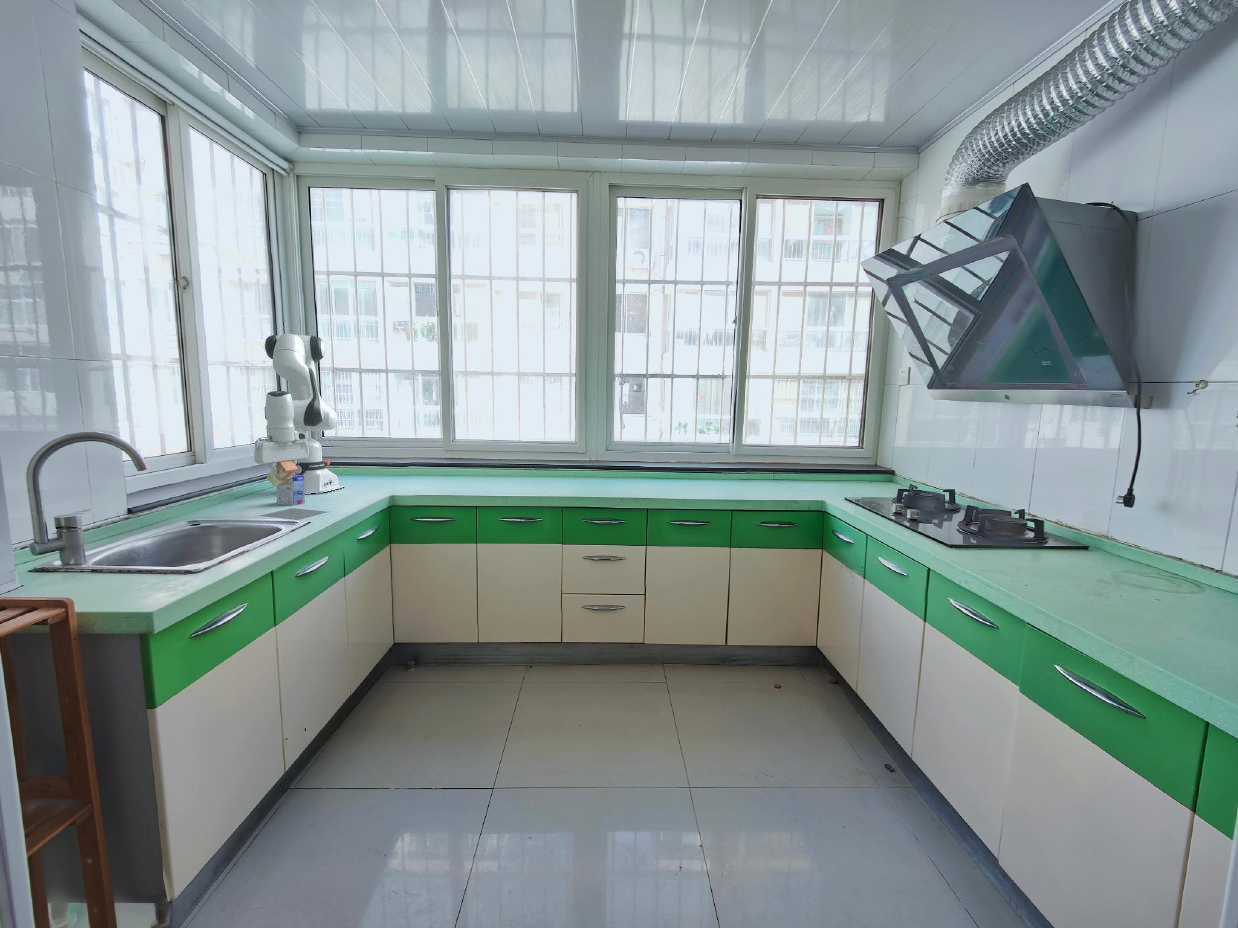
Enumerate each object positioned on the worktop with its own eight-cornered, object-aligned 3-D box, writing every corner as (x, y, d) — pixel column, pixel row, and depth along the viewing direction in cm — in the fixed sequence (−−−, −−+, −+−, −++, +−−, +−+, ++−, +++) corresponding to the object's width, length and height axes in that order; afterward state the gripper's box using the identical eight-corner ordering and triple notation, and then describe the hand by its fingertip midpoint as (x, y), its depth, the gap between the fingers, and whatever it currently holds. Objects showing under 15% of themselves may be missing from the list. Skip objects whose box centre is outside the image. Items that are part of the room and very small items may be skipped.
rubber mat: (292, 509, 210) (291, 508, 210) (329, 513, 205) (329, 511, 205) (259, 516, 197) (259, 515, 197) (298, 521, 192) (298, 519, 192)
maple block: (277, 474, 202) (290, 458, 199) (285, 484, 201) (298, 468, 199) (265, 476, 197) (278, 460, 194) (273, 486, 197) (286, 470, 194)
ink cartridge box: (306, 504, 220) (304, 469, 218) (293, 506, 215) (291, 471, 213) (288, 502, 223) (286, 467, 221) (276, 504, 218) (273, 469, 216)
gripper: (262, 438, 185) (264, 477, 187) (310, 434, 205) (312, 470, 206) (248, 437, 187) (250, 476, 189) (297, 433, 206) (299, 469, 208)
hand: (283, 473), depth 198 cm, fingers closed on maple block, 5 cm apart
